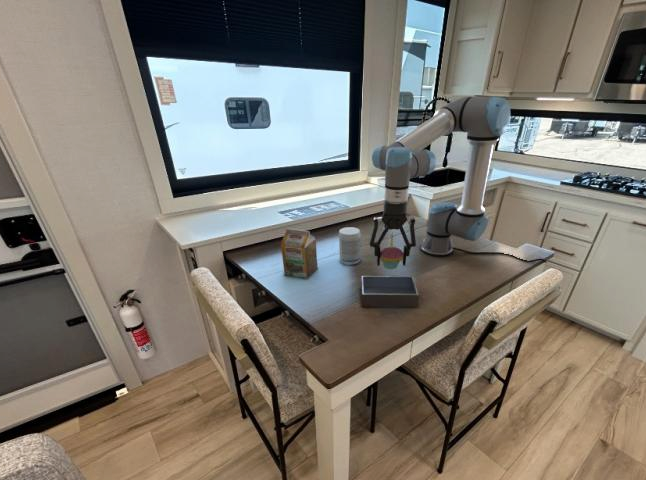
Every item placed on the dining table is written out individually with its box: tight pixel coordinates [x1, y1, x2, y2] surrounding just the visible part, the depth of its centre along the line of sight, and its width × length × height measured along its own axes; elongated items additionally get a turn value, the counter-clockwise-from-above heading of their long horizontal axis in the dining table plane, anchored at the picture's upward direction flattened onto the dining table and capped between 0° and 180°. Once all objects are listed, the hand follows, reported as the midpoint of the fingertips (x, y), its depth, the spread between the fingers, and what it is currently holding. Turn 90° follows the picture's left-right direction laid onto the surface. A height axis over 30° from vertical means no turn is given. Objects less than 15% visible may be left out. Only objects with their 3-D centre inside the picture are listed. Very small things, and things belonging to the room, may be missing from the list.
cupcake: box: [380, 234, 404, 270], centre depth 112 cm, size 9×8×12 cm
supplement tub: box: [338, 226, 361, 266], centre depth 145 cm, size 10×10×15 cm
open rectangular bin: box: [360, 275, 420, 308], centre depth 121 cm, size 20×14×5 cm
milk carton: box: [280, 228, 318, 280], centre depth 134 cm, size 11×11×19 cm
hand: (391, 263), depth 115 cm, fingers closed on cupcake, 8 cm apart
